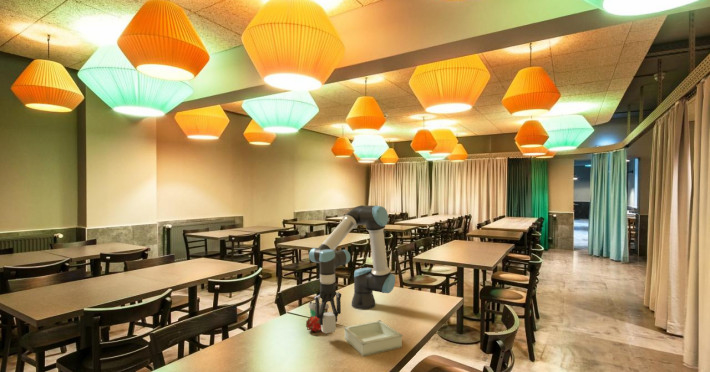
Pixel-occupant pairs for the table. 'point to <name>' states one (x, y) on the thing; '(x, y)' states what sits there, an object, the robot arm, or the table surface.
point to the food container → (312, 308)
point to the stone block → (329, 322)
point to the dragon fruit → (313, 324)
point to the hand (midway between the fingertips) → (328, 329)
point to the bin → (373, 337)
